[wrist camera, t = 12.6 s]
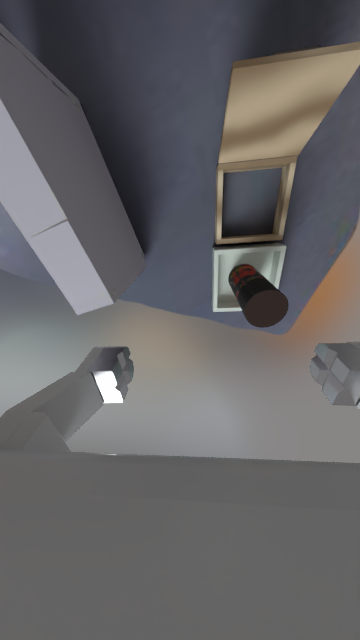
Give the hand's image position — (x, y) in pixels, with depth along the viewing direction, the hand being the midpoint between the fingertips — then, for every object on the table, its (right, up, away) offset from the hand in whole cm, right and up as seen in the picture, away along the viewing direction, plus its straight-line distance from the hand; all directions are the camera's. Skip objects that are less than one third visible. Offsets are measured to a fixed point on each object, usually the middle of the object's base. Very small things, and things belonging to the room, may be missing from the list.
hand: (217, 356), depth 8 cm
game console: (-15, +24, +27) cm, 39 cm away
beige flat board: (+9, +25, +14) cm, 30 cm away
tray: (+12, +11, +32) cm, 36 cm away
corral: (+11, +22, +25) cm, 35 cm away
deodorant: (+12, +11, +31) cm, 35 cm away
